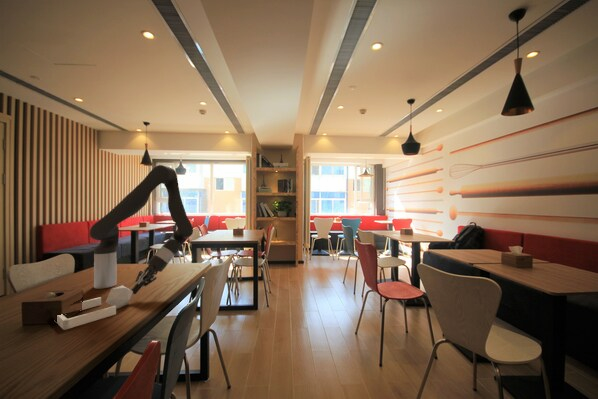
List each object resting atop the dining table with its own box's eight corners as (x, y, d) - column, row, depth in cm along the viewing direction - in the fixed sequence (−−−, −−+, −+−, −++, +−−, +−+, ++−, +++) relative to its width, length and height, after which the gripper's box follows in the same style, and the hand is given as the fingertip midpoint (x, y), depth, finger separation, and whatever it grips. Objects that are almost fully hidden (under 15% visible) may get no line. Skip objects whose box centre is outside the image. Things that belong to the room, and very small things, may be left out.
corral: (51, 317, 96) (51, 309, 96) (100, 304, 108) (100, 297, 108) (63, 330, 86) (63, 321, 86) (116, 314, 98) (116, 306, 98)
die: (134, 307, 105) (138, 284, 111) (114, 304, 98) (120, 279, 104) (119, 313, 107) (124, 290, 113) (98, 309, 100) (105, 285, 106)
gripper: (148, 253, 122) (119, 285, 112) (162, 256, 114) (132, 291, 104) (160, 262, 126) (132, 294, 116) (174, 265, 118) (146, 300, 108)
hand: (132, 293), depth 110 cm, fingers closed
